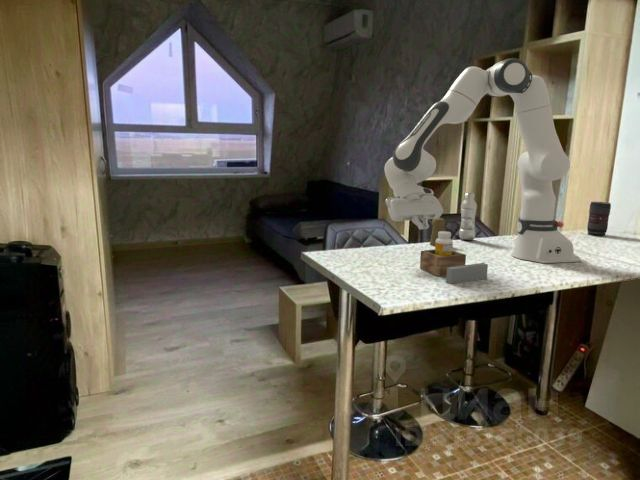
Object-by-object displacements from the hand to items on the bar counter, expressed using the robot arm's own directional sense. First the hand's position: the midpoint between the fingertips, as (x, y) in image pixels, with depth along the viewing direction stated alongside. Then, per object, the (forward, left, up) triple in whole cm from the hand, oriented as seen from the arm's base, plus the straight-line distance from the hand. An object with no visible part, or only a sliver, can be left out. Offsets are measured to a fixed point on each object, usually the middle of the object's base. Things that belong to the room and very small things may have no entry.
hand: (424, 228), depth 158 cm
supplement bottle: (-4, +9, -9) cm, 14 cm away
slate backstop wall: (-9, +20, -12) cm, 25 cm away
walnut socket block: (-4, +9, -12) cm, 16 cm away
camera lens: (-90, -54, -13) cm, 106 cm away
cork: (-12, -31, -13) cm, 35 cm away
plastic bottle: (-27, -41, -13) cm, 51 cm away
